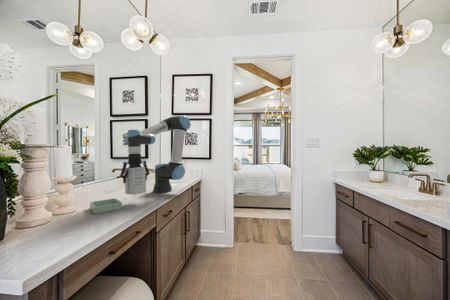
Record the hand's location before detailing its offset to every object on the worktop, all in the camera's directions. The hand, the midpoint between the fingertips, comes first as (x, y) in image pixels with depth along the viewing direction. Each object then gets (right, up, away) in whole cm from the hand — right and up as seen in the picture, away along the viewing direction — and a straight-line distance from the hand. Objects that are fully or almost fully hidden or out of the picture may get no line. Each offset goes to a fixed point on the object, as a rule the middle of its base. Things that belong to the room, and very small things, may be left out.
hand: (135, 186), depth 132 cm
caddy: (-12, -11, -12) cm, 21 cm away
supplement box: (0, -4, 0) cm, 4 cm away
